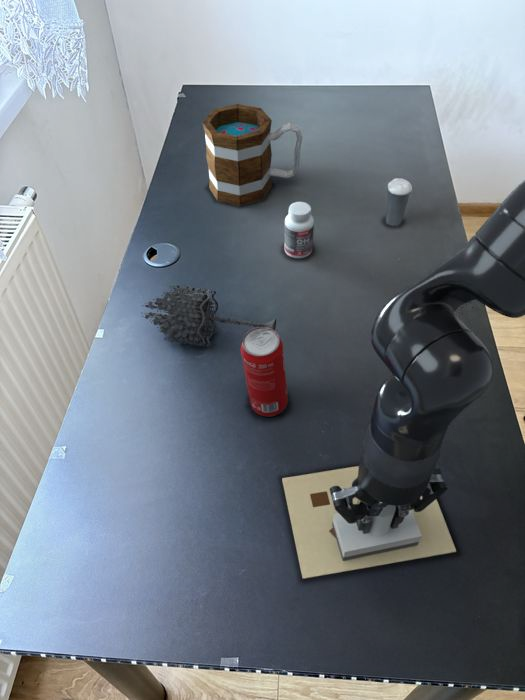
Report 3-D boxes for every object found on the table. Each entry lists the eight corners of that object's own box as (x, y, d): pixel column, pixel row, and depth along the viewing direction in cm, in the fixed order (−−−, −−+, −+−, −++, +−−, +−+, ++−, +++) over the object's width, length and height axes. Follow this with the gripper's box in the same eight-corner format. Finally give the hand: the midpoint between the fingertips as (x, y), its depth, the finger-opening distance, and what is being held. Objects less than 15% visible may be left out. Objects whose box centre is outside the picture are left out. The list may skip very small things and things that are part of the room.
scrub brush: (404, 509, 80) (415, 479, 73) (417, 545, 77) (430, 517, 70) (331, 524, 79) (336, 494, 72) (342, 561, 75) (348, 533, 69)
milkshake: (375, 216, 120) (381, 173, 113) (400, 212, 121) (408, 169, 113) (382, 230, 117) (389, 187, 110) (408, 226, 118) (417, 183, 110)
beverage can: (294, 408, 91) (296, 344, 79) (257, 426, 89) (254, 363, 77) (274, 381, 94) (274, 316, 83) (238, 398, 92) (232, 334, 81)
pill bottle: (299, 263, 112) (301, 221, 104) (278, 250, 114) (278, 208, 107) (318, 249, 114) (321, 207, 107) (296, 237, 117) (298, 195, 109)
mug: (207, 207, 123) (200, 140, 112) (210, 169, 132) (203, 104, 121) (302, 204, 123) (305, 138, 112) (298, 167, 132) (300, 102, 120)
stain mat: (419, 456, 85) (420, 456, 85) (456, 552, 76) (456, 551, 76) (281, 478, 83) (282, 478, 83) (302, 579, 74) (302, 578, 74)
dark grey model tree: (269, 367, 96) (268, 328, 89) (139, 349, 99) (128, 310, 92) (279, 325, 102) (279, 285, 95) (156, 309, 105) (147, 269, 98)
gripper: (342, 498, 59) (330, 563, 72) (478, 474, 60) (442, 542, 73) (324, 433, 63) (316, 506, 77) (450, 413, 65) (421, 487, 78)
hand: (378, 523), depth 75 cm, fingers closed on scrub brush, 3 cm apart
